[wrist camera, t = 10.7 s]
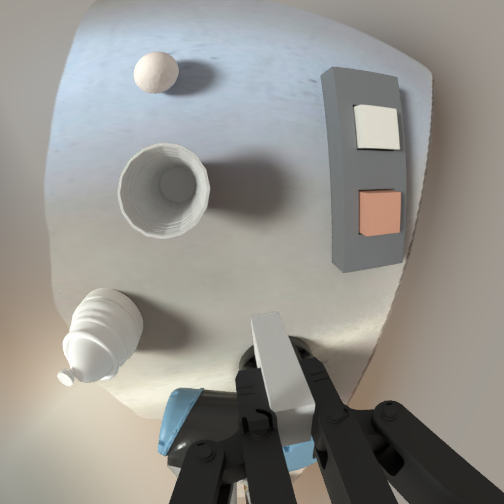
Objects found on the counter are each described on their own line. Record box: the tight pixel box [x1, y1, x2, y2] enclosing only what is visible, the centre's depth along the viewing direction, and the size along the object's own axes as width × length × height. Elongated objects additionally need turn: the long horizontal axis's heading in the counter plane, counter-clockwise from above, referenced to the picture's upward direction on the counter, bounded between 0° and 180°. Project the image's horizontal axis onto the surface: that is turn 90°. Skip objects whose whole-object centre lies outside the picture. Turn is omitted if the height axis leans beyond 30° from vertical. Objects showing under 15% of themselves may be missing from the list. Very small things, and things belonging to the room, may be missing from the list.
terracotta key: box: [359, 189, 401, 236], centre depth 39 cm, size 6×6×4 cm
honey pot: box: [57, 288, 143, 386], centre depth 37 cm, size 13×13×18 cm
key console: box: [321, 67, 407, 273], centre depth 40 cm, size 32×12×5 cm, turn 5°
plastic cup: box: [117, 143, 210, 239], centre depth 34 cm, size 11×11×12 cm
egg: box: [134, 52, 179, 94], centre depth 30 cm, size 6×6×8 cm
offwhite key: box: [353, 104, 400, 149], centre depth 35 cm, size 6×6×4 cm
